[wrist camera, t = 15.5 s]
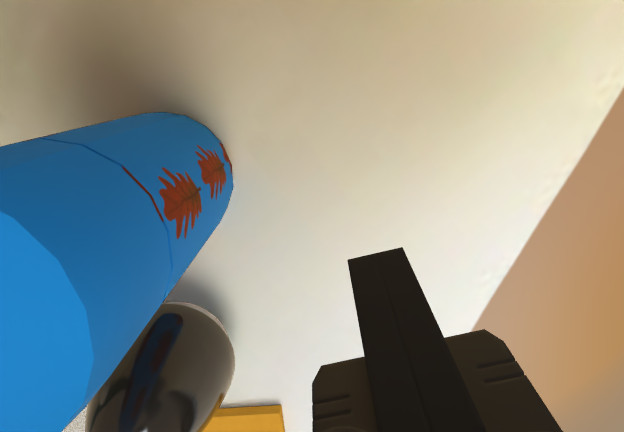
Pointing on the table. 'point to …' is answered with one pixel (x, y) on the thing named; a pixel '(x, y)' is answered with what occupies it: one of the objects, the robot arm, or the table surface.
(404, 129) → the table surface
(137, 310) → the thermos
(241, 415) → the mustard mat
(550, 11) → the table surface
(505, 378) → the robot arm
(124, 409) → the black glossy oval body
